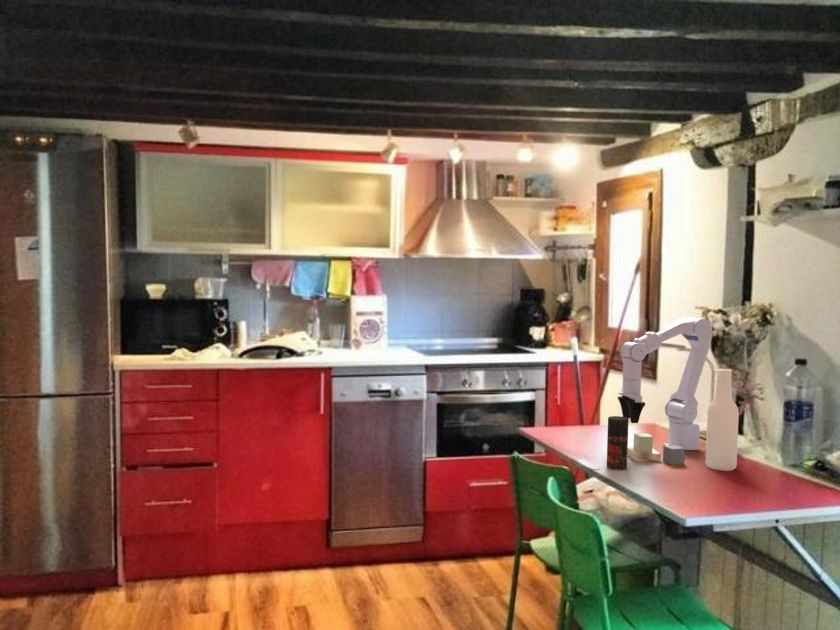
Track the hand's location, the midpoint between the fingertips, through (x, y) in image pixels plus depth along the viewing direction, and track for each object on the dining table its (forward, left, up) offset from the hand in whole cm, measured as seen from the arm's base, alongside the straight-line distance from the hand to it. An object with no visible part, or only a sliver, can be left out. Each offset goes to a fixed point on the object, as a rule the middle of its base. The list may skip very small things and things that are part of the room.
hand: (630, 420), depth 249 cm
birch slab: (-2, +8, -10) cm, 13 cm away
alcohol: (-22, +19, -11) cm, 31 cm away
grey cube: (-9, +14, -10) cm, 20 cm away
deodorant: (+10, +19, -11) cm, 24 cm away
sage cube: (-2, +8, -8) cm, 11 cm away
